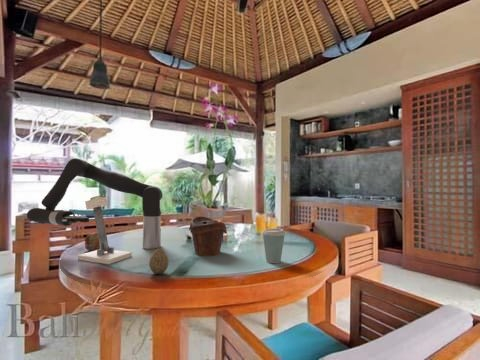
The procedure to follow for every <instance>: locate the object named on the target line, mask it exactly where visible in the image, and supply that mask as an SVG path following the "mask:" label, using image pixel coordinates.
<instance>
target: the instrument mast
mask: <svg viewBox="0 0 480 360" xmlns="http://www.w3.org/2000/svg"><path fill="white" fill-rule="evenodd" d="M84 203H85V208H86V210H87V211H88V210H92V211H93V215H94V222H95V227H96V232H97V233H98V239H99V245H100V248H99V249H101V250H104V252H106V251H109V247H110V246H109V240H108V236H107V229H106V225H105V219H104V213H103V207H107V206H108V205H109V204H108V200H107V197H106V196H105V197H102V196H101V195H99V194H97V195H96V196H93V197H92V196H91V197H90V198H89V200H86V201H84Z"/></svg>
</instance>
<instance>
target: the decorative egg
mask: <svg viewBox="0 0 480 360" xmlns="http://www.w3.org/2000/svg"><path fill="white" fill-rule="evenodd" d="M168 267H169V257H168V255H167V253H166V252H165V251H164V250H163V249H162V248H161V247H160V248H156V250H155V251H154V252H153V253H152V254H151V256H150V258H149V269H150V270H151V272H152V273H153V274H154V275H161V274H163V273H165V272H166V271H167V269H168Z"/></svg>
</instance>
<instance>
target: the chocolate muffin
mask: <svg viewBox="0 0 480 360" xmlns="http://www.w3.org/2000/svg"><path fill="white" fill-rule="evenodd" d="M189 225H190V226H189V229H188V231H190V233H191V236H192V242H193V246H194V247H193V249H194V253H195V254H196V255H197V256H209V257H211V256H216V255H219V254H220V252H221V247H222V244H223V243H222V242H223V238H224V235H225V234H226V236H227V235H228V231H227V230H228V229H227V225H226V224H225V223H224V222H221V221H219V220H216V219H212V218H209V217H205V216H196V217H194V218H193V219H192V220H191V221H190V224H189Z"/></svg>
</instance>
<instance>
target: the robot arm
mask: <svg viewBox="0 0 480 360" xmlns="http://www.w3.org/2000/svg"><path fill="white" fill-rule="evenodd" d="M77 177H81V178H85V179H89V180H92V181H96V182H97V183H99V184H101V185H102V186H104V187H106V188H109V189H111V190H114V191H117V192H121V193H123V194H124V193H125V194H131V195H135V196H138V197H140V198H142V201H141V202H142V203H141V204H142V205H141V207H142V210H141V211H142V213H143V214H142V216H143V219H142V249H145V250H146V249H147V250H152V249H159V248H160V249H161V246H162V245H161V244H162V241H161V240H162V228H161V227H162V226H161V225H162V224H161V223H162V218H161V217H162V211H161V200H162V198H163V192H162V189H160V188H159V187H158V186H154V185H150V184H145V183H142V182H140V181H138V180H135V179H133V178H132V177H129V176H127V175H125V174H122V173H119V172H117V171H113V170H109V169H103V168H101V167H99V166H96V165H94V164H91V163H89V162H87V161H86V160H84V159H81V158H77V157H75V158H71V159H70V160H68V162H67V163H66V164H65V167H64V168H63V170H62V172H61V174H60V175H59V177H58V179H57V180H56V182H55V184H54V185H53V186H52V187H51V189H50V190H49V191H48V193H47V194H46V195H45V196H44V198H42V200H41V205H42V206H43V207H45V208H41V207H40V208H39V207H34V208H31V209H29V210H28V211H27V213H26V218H27V219H28V221H30V222H32V223H33V222H34V223H38V224H41V225H44V224H48V225H49V224H50V225H56V226H63V227H65V226H66V227H68V226H71V225H72V224H76V223H89V222H90V217H88V216H87V215H86V214H83V215H81V214H75V213H74V212H73V211H72V210H65V209H64V210H63V209H62V210H61V209H58V210H57V209H56V207H57V206H58V205H59V204H60V202H61V201H62V200H63V198H65V197H64V196H65V195H66V193H67V191H68V188H69V185H70V184H72V181H73V180H74V179H76V178H77Z"/></svg>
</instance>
